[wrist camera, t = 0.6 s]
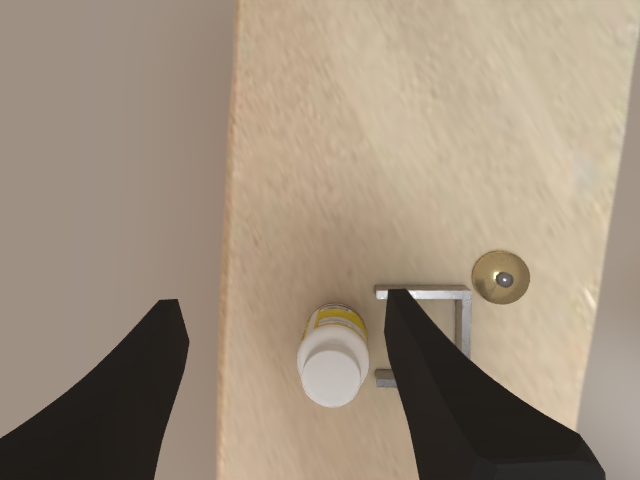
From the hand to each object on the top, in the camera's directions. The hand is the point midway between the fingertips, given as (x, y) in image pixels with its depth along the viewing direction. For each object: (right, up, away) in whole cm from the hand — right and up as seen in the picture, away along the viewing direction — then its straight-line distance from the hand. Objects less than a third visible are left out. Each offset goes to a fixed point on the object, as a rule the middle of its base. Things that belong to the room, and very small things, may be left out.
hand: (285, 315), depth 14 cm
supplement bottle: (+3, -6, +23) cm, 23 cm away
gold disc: (+17, 0, +21) cm, 27 cm away
